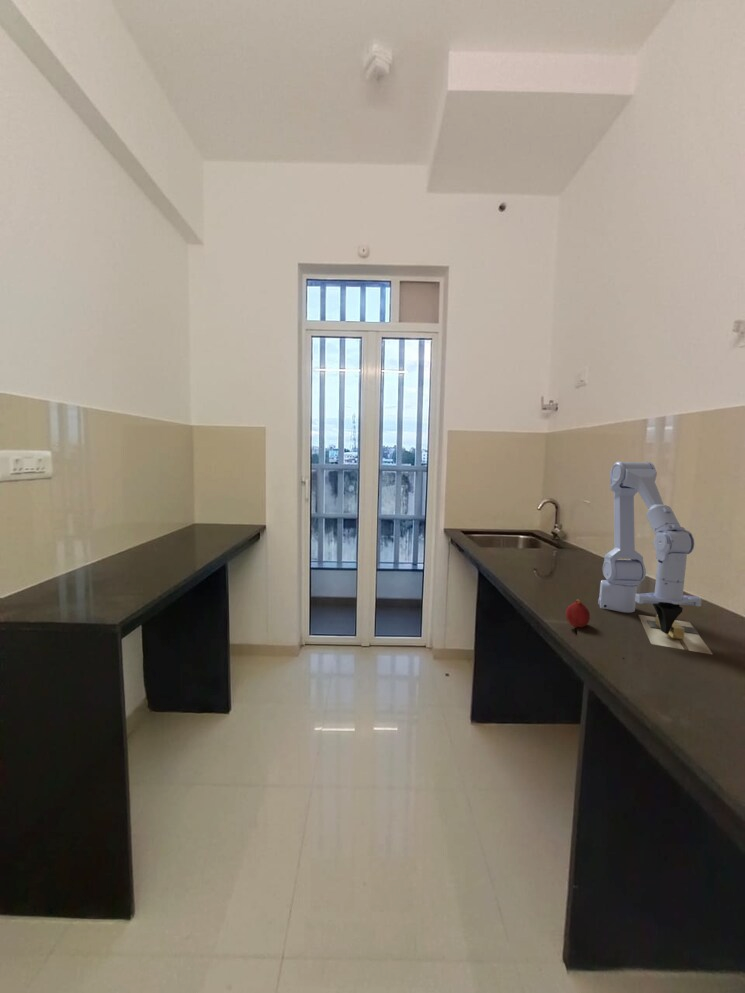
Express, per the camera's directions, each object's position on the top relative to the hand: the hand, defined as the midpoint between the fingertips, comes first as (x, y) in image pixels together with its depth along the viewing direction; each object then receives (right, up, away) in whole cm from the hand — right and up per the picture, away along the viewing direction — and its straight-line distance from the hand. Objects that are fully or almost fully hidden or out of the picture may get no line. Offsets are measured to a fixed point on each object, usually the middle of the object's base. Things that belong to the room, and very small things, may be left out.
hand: (664, 632), depth 108 cm
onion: (-19, -2, +7) cm, 20 cm away
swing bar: (+3, -1, +3) cm, 4 cm away
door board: (+4, -2, +3) cm, 5 cm away
